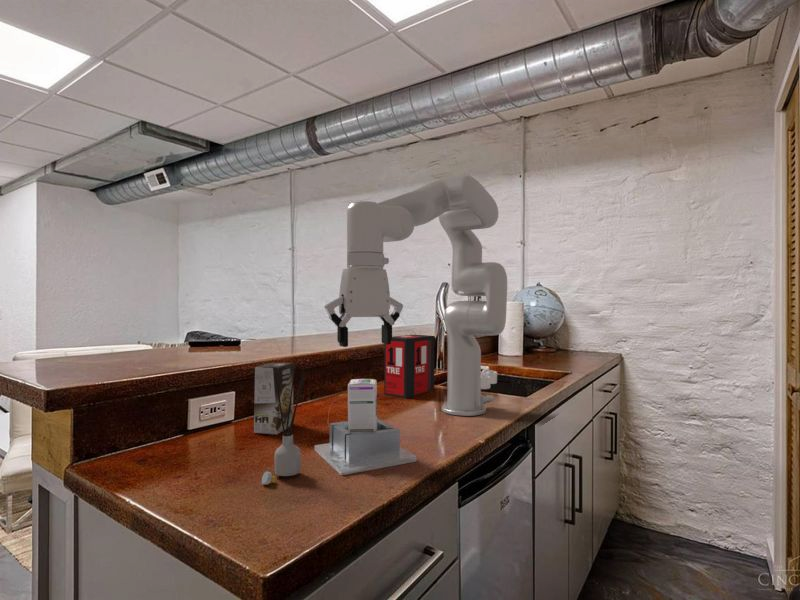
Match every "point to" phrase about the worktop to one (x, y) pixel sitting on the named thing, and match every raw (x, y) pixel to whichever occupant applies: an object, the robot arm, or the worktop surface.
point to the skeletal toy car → (487, 377)
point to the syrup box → (362, 405)
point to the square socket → (363, 448)
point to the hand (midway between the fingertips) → (365, 344)
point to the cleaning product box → (409, 366)
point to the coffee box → (272, 397)
